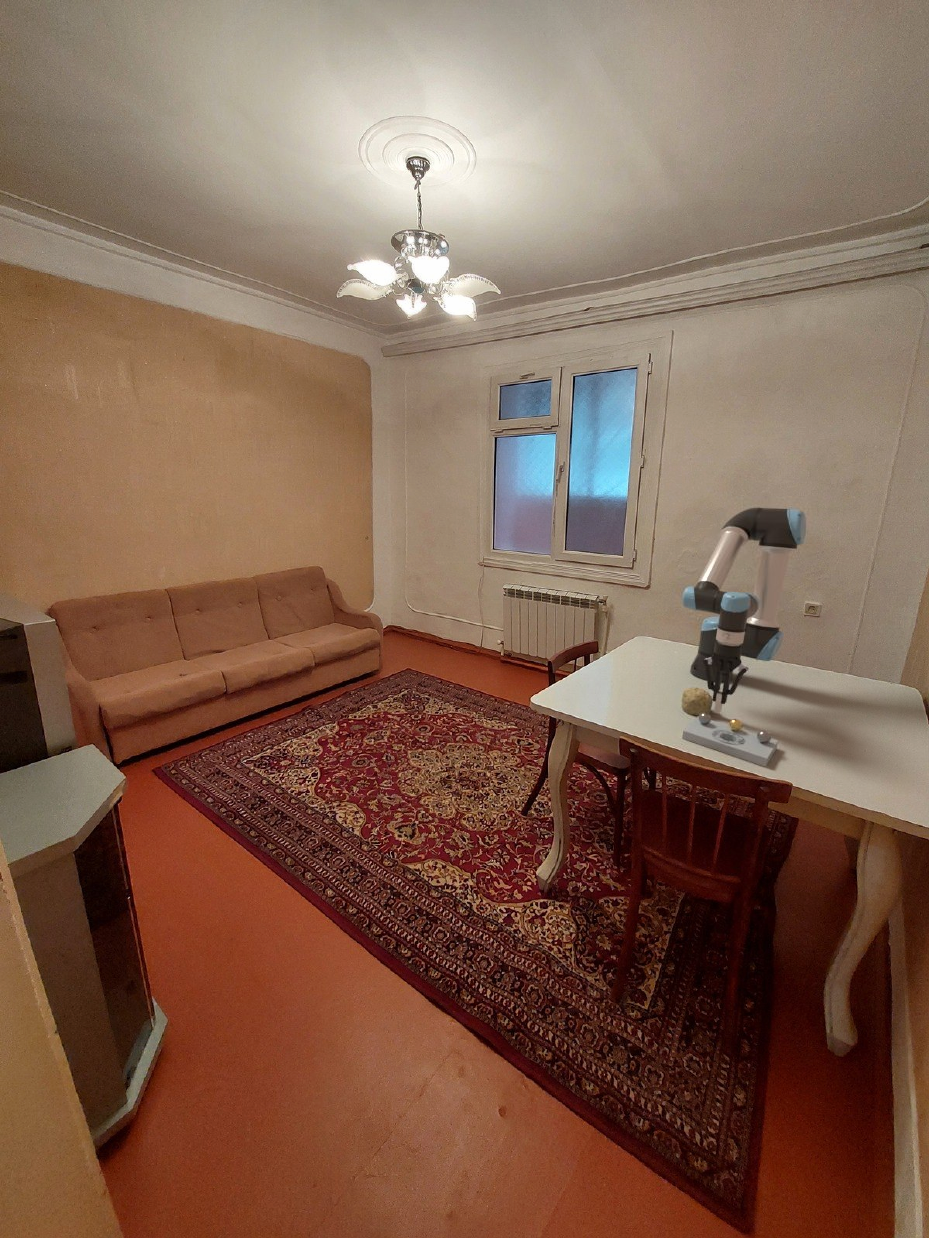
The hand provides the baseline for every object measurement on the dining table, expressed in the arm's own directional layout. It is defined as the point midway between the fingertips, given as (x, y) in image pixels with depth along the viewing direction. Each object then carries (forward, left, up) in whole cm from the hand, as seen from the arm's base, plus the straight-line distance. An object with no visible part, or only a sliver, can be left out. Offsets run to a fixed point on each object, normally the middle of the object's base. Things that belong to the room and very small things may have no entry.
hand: (717, 711), depth 163 cm
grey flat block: (+15, +8, -2) cm, 17 cm away
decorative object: (0, -7, -2) cm, 7 cm away
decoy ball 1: (+13, 0, +2) cm, 13 cm away
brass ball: (+11, +8, +2) cm, 14 cm away
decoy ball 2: (+13, +16, +2) cm, 21 cm away
